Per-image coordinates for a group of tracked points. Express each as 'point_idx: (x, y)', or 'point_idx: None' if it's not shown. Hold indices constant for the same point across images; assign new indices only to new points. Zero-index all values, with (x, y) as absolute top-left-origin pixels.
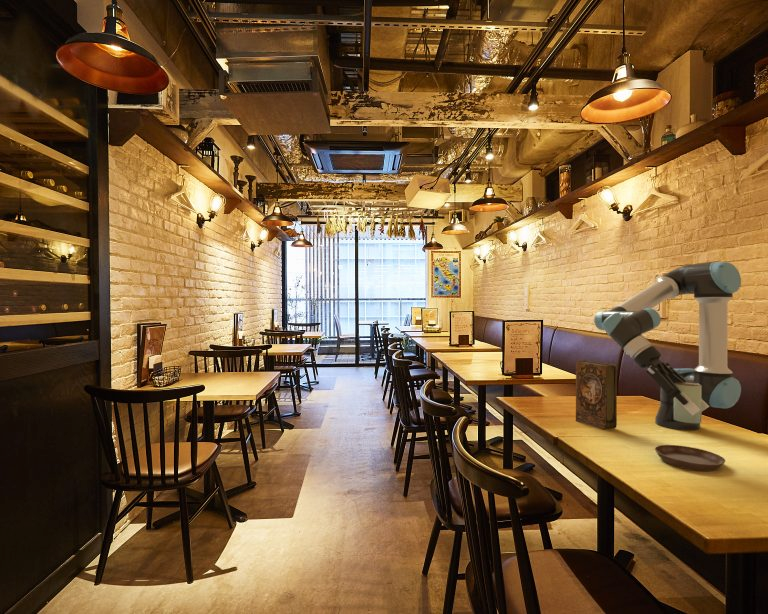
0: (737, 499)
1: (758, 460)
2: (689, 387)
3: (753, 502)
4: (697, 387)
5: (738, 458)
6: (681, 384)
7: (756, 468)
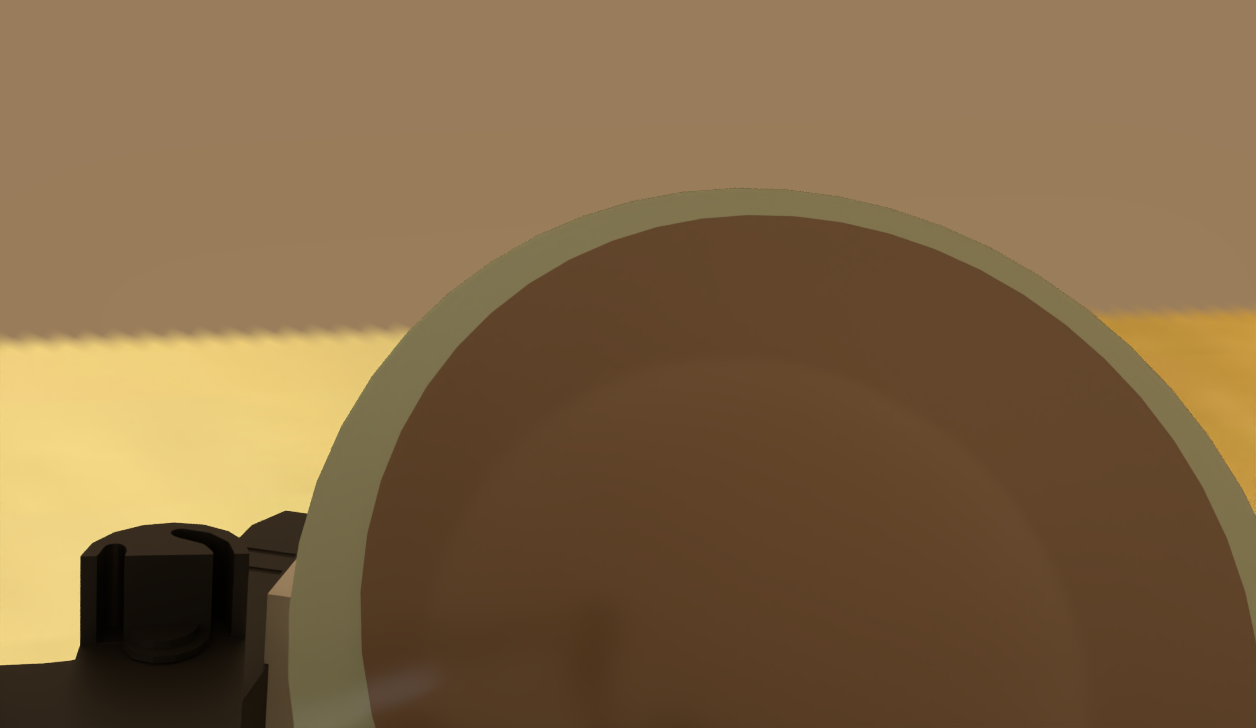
0: (1253, 416)
1: (81, 359)
2: (1192, 465)
3: (1211, 345)
4: (994, 275)
5: (111, 487)
6: (1251, 726)
7: (368, 361)
